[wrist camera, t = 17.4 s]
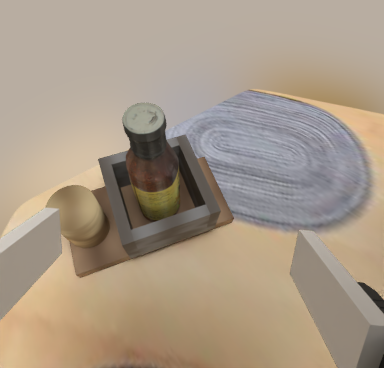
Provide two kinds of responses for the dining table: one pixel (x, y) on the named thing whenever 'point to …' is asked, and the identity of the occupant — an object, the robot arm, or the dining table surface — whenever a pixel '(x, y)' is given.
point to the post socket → (136, 212)
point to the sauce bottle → (151, 162)
